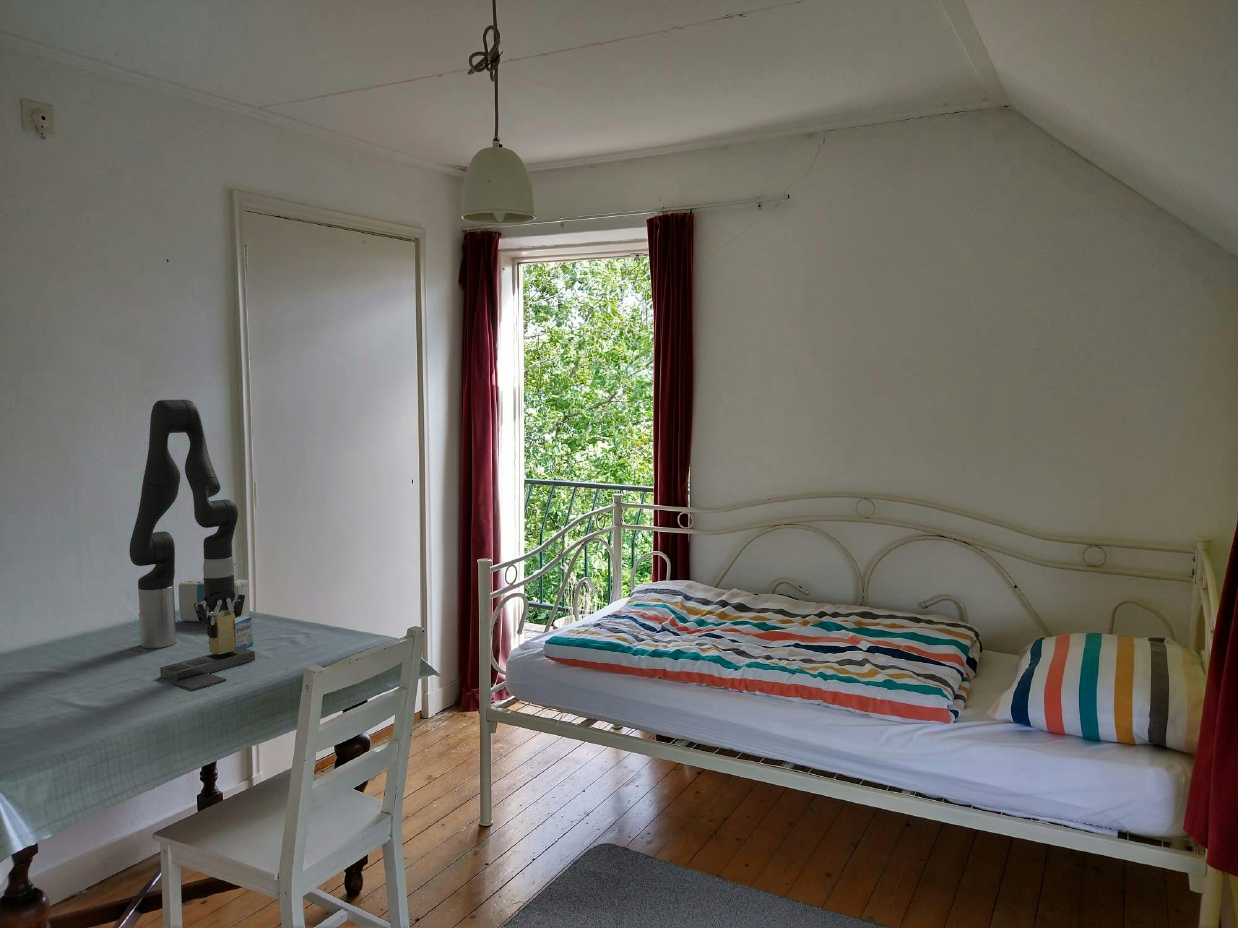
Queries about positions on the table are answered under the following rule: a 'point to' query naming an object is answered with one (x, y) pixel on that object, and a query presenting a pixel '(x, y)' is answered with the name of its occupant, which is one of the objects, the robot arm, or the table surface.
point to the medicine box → (243, 632)
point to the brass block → (223, 634)
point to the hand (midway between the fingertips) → (221, 635)
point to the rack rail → (206, 664)
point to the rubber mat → (199, 681)
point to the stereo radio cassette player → (195, 593)
